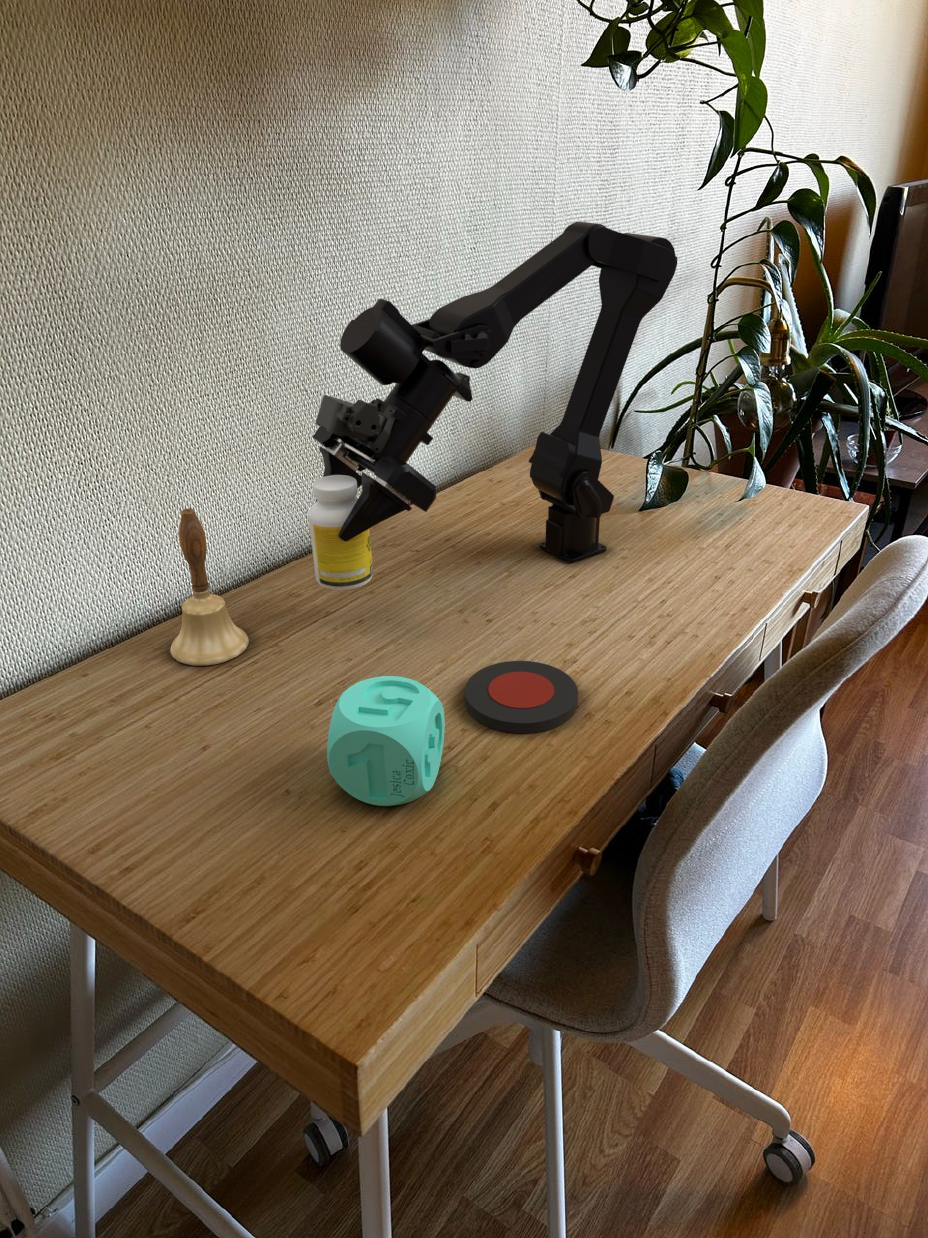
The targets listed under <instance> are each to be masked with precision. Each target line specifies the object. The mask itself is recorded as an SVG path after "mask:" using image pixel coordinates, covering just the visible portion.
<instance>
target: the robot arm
mask: <svg viewBox="0 0 928 1238" xmlns="http://www.w3.org/2000/svg"><path fill="white" fill-rule="evenodd" d="M678 259H679V258H678V256H677V255H676V250H675V248H674V245H673V244H672V242H671V241H670V240H669V239H668V238H667V237H661V236H655V235H654V236H653V235H647V234H638V233H631V232H624V233H623V232H620V231H617V230H614V229H612V228H608V227H607V226H606V225H604V224H602V223H597V222H589V221H575V222H573V223H571V224H569V225H567V227H566V228H565V229H564V230H563V232H562V233H561V234H560V235H558V236H557V237H556V238H554V239H553V240H552V241H550V242H549V243H548V244H546V245H545V246H544V247H542V248H541V249H540V250H538V251H537V252H536V253H534V254H533V255H532V256H530V257H529V258H528V259H526V260H525V261H524V262H522V263H520V265H519V266H517V267H516V268H515V269H513V270H512V271H510V272H509V273H508V274H506V275H505V276H504V277H502V278H500V279H499V281H497V282H496V283H495V284H493V285H491V286H490V287H488V288H486V289H483V290H481V291H477V292H474V293H470V294H467V295H463V296H461V297H459V298H457V299H455V300H453V301H451V302H449V303H447V304H445V305H442V306H441V307H439V308H438V309H437V310H435V311H434V312H433V313H432V314H431V316H430V317H429V318H428V319H425V320H422V321H419V322H416V323H412V324H411V322H409V321H408V320H407V319H406V318H405V317H404V316H403V315H402V314H401V312H400V311H399V309H398V307H396V305H394V304H393V303H392V302H391V301H390V300H388V299H384V298H378V300H377V301H376V302H375V303H374V305H373V306H371V307H369V308H367V309H365V310H363V311H362V312H360V313H359V314H358V315H357V316H356V318H354V319H351V320H350V321H349V323H348V324H347V325H346V327H345V328H344V330H343V332H342V335H341V337H340V342H339V348H340V351H342V353H344V354H345V355H346V356H347V357H348V358H349V359H351V361H353V362H354V363H355V364H356V365H357V366H358V367H360V368H361V369H362V370H363V371H365V372H366V373H367V374H368V375H369V376H370V377H371V378H373V380H375V382H377V383H378V384H379V385H381V386H389V385H392V384H394V385H393V387H392V389H391V391H390V392H389V394H388V395H387V396H386V397H385V399H384V400H382V399H380V398H378V397H376V398H375V399H372V400H371V401H370V402H367V401H363V400H362V399H357V400H356V401H355V402H354V403H353V402H350V401H347V400H343V399H341V398H338V397H333V396H331V395H327V394H323V395H322V399H321V403H320V406H319V409H318V413H317V417H316V419H315V425H316V426H319V427H318V428H317V429H316V431H315V433H314V434H313V435H312V439H314V440H315V441H316V442H317V443H319V444H320V445H321V446H319V448H318V449H319V452H320V453H321V456H322V461H323V465H324V471H323V474H322V477H325V476H330V475H346V476H351V477H353V478H355V479H356V481H357V488H358V489H359V488H360V487H361V492H360V495H359V496H358V497H357V498H358V500H357V502H356V503H355V505H354V507H353V509H352V510H351V512H350V514H349V515H348V517H347V519H346V521H345V522H344V524H343V526H342V528H341V530H340V532H339V535H338V537H339V538H340V539H342V540H343V541H345V542H346V541H348V540H350V539H352V538H354V537H355V536H357V535H359V534H361V533H362V532H364V531H366V530H368V529H369V530H370V529H371V528H373V527H375V526H376V525H378V524H380V523H382V522H384V521H385V520H388V519H390V518H392V517H394V516H397V515H399V514H400V513H403V512H404V511H407V512H410V511H411V510H412V509H413V507H411V506H410V505H409V503H411V504H412V505H413V506H415V507H416V508H418V509H420V510H422V511H423V512H425V513H427V512H428V511H429V509H430V508H431V507H432V505H433V503H434V502H435V501H436V499H437V486H436V485H435V484H434V483H432V482H431V480H429V479H427V478H426V477H425V476H424V475H423V474H422V473H420V472H419V471H418V470H416V468H414V467H413V466H411V465H410V464H409V463H408V462H409V460H410V459H411V457H412V455H413V454H414V452H415V451H416V450H417V449H418V447H419V445H420V444H421V443H423V444H424V445H426V446H429V445H430V443H432V441H433V440H434V437H433V436H432V435H431V434H429V432H430V430H431V429H432V427H433V425H434V424H435V422H436V421H437V420H438V418H439V417H440V415H441V414H442V412H443V411H444V410H445V408H446V407H447V406H448V404H449V402H450V401H451V400H452V398H453V397H455V398H457V399H460V400H463V401H464V402H468V403H470V402H472V401H473V393H472V389H471V384H470V383H471V382H470V381H471V376H470V375H467V374H465V373H463V372H461V371H459V372H455V371H453V370H452V368H451V367H449V366H448V365H447V364H446V363H445V362H444V361H442V360H441V359H443V360H446V361H447V362H451V363H453V364H455V365H459V366H462V367H464V368H469V369H475V370H476V369H480V368H482V367H484V366H486V365H487V364H488V363H490V362H491V361H492V360H493V359H494V358H495V356H496V355H497V354H499V352H500V351H501V350H502V349H503V348H505V346H506V345H507V344H508V343H509V340H510V339H511V336H512V334H513V331H514V329H515V327H516V326H518V324H519V323H520V322H521V321H522V320H523V319H524V318H526V317H527V316H528V315H530V313H532V312H533V311H534V310H536V309H537V308H538V307H540V306H542V304H544V303H545V302H546V301H548V300H549V299H550V298H552V297H553V296H554V295H556V293H558V292H559V291H561V290H562V289H563V288H564V287H566V286H567V285H569V284H570V283H571V282H572V281H573V280H575V279H576V278H578V277H579V276H580V275H582V274H583V273H584V272H586V271H587V269H589V268H590V267H594V268H598V269H600V272H599V278H598V286H599V295H600V303H601V305H600V311H599V314H598V316H597V319H596V322H595V324H594V325H595V326H594V328H593V331H592V334H591V336H590V339H589V342H588V345H587V348H586V351H585V354H584V357H583V359H582V362H581V365H580V367H579V370H578V374H577V376H576V380H575V383H574V385H573V388H572V391H571V394H570V396H569V400H568V402H567V405H566V408H565V411H564V414H563V417H562V419H561V422H560V424H558V425H557V426H556V427H555V428H554V429H553V430H552V431H551V432H550V433H546V432H544V431H541V432H539V434H538V436H537V438H536V443H535V448H534V451H533V452H532V455H531V456H530V457H529V459H528V463H530V464H531V465H530V468H529V478H531V482H532V485H533V486H534V487H535V488H536V489H537V490H538V493H539V497H540V499H541V500H543V501H546V502H548V503H550V504H551V505H549V506H548V507H547V508H548V510H547V519H546V520H545V539H544V541H542V542H539V544H538V545H539V548H540V549H542V550H544V551H546V552H548V553H550V554H552V555H553V556H555V557H558V558H560V559H561V560H563V561H565V562H567V563H575V562H578V561H581V560H584V559H586V558H590V557H592V556H595V555H598V554H601V553H604V552H606V551H607V546H606V545H604V544H603V543H600V542H599V540H600V522H601V516H602V515H603V514H606V513H609V512H610V511H611V509H612V505H613V502H614V499H615V495H614V494H613V493H612V492H611V491H610V490H609V489H608V488H607V487H606V486H605V485H604V484H603V483H602V482H601V481H600V480H599V477H600V473H601V469H602V465H603V457H602V449H601V439H600V436H601V432H602V429H603V426H604V424H605V421H606V418H607V415H608V414H609V413H608V412H609V410H610V407H611V405H612V401H613V399H614V395H615V394H616V391H617V388H618V385H619V382H620V379H621V377H622V374H623V371H624V369H625V366H626V363H627V361H628V358H629V354H630V352H631V349H632V346H633V344H634V341H635V338H636V336H637V333H638V330H639V327H640V325H641V322H642V320H643V319H644V317H646V316H647V314H649V312H651V310H653V309H654V308H655V307H656V305H658V304H659V303H660V302H661V301H662V300H663V298H664V297H665V294H666V291H667V290H668V288H669V286H670V284H671V282H672V280H673V278H674V276H675V274H676V271H677V266H678ZM424 351H425V352H428V353H430V354H434V355H436V356H437V357H439V358H440V359H432V360H431V359H430V358H429V357H427V356H426V355H425V354H424V353H423V352H424ZM322 446H323V447H322ZM365 470H368V471H369V472H371V473H373V475H374V476H375V479H374V478H373V477H372V476H370V475H368V474H366V473H365V472H363V471H365ZM358 472H360V473H361V474H360V473H358ZM316 502H317V499H316V498H315V502H314V503H316Z"/></svg>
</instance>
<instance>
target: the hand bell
mask: <svg viewBox="0 0 928 1238" xmlns="http://www.w3.org/2000/svg"><path fill="white" fill-rule="evenodd" d="M180 514H181V515H180V522H179V528H178V540H179V545H180V549H181V552H182V554H183V557H184V559H185V560H186V562H187V565H188V567H189V571H190V572H189V573H190V579H191V589H192V594H193V595H192V596H191V597H188V598H187V599H186V600H184V601H183V603H182V605H181V615H182V617H181V627H180V631H179V634H178V635H177V636H176V637H175V638H174V639H173V641H172V643H171V646H170V651H169V652H170V655H171V657H172V658H173V659H174V660H176V661H177V662H179V663H181V664H184V665H188V666H196V667H197V666H198V667H200V666H201V667H203V666H214V665H218V664H222V663H226V662H229V661H231V660H232V659H234V658H236V657H238V656H240V655H242V654H243V653H244V652H245V651H246V650H247V648H248V646H249V643H250V639H249V636H248V634H247V633H246V632H245V631H244V630H243V629H242V628H240V627H238V626H237V625H236V624H235V623H234V622H233V620H232V619H231V617H230V614H229V612H228V609H227V605H226V602H225V599H224V598H223V597H221V596H220V595H218V594H215V593H211V590H210V584H209V580H208V576H207V570H206V557H207V538H206V533H205V529H204V527H203V524H202V523H201V521H200V519H199V517H198V515H197V513H196V511H195V509H194V508H191V507H189V508H188V507H187V508H184V509H182V510H181V513H180Z"/></svg>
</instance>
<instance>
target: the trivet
mask: <svg viewBox="0 0 928 1238" xmlns="http://www.w3.org/2000/svg"><path fill="white" fill-rule="evenodd" d="M578 702H579V689H578V686H577V684H576V682H575V680H574V679H573V678H572V677H571V676H570V675H569V674H567V673H566V672H565V671H563V670H562V669H560V668H557V667H555V666H552V665H550V664H546V663H543V662H538V661H532V660H508V661H502V662H497V663H493V664H490V665H488V666H485V667H482V668H481V669H479V670H477V671H476V672H475V673H474V674H472V675H471V676H470V677H469V678H468V680H467V682H466V684H465V687H464V706H465V708H466V710H467V711H468V713H469V715H470V716H471V717H472V718H473V719H474V720H475V721H476V722H478V723H480V724H482V725H483V726H485V727H488V728H490V729H493V730H496V731H500V732H505V733H509V734H510V733H511V734H534V733H535V734H536V733H542V732H546V731H550V730H553V729H556V728H558V727H560V726H562V725H563V724H566V722H568V721H569V720H570V719H571V718H572V717H573V716H574V714H575V713H576V711H577V709H578V705H579V704H578Z"/></svg>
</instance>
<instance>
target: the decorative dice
mask: <svg viewBox="0 0 928 1238" xmlns="http://www.w3.org/2000/svg"><path fill="white" fill-rule="evenodd" d="M445 725H446V724H445V709H444V705H443V703H442V701H441V700H440V699H439V697H437V695H436V694H435V693H434V692H433V691H432V690H431V689H430V688H428V687H426V685H424V684H422V683H421V682H419V681H417V680H415V679H412V678H408V677H404V676H398V675H397V676H395V675H382V676H375V677H369V678H366V679H363V680H361V681H359V682H356V683H354V684H352V685H351V686H349V687H348V688H347V689H346V690H344V691H343V692H342V693H341V694H340V696H339V697H338V699H337V702H336V704H335V706H334V708H333V711H332V714H331V718H330V722H329V726H328V727H329V728H328V732H327V733H328V734H327V744H326V745H327V746H326V757H327V759H326V760H327V767H328V770H329V773H330V775H331V776H332V778H333V779H334V781H335V782H336V783H337V784H338V785H339V787H340V788H342V790H343V791H344V792H346V793H347V794H348V795H350V796H351V797H353V798H355V799H357V800H358V801H361V802H362V803H365V804H369V805H373V806H378V807H393V806H400V805H405V804H408V803H411V802H413V801H416V800H417V799H419V798H421V797H422V796H424V795H426V794H427V793H428V792H429V791H430V790H432V788H433V786H434V784H435V782H436V780H437V778H438V775H439V774H438V773H439V770H440V767H441V763H442V762H441V761H442V756H443V750H444V741H445V728H446V727H445Z"/></svg>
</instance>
